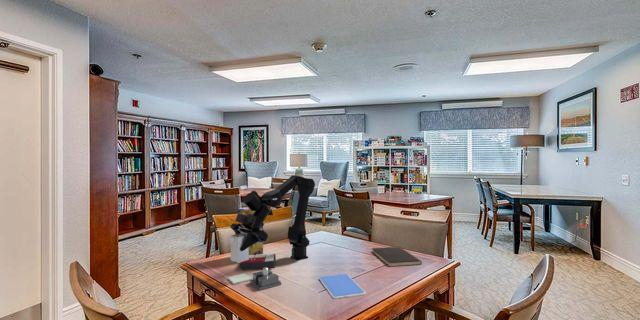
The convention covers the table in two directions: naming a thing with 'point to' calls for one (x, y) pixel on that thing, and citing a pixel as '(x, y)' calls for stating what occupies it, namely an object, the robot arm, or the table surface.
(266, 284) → the vise
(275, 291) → the table surface
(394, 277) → the table surface
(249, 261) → the calculator
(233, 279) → the pad
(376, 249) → the hardcover book
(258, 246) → the blue food box
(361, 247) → the table surface
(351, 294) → the tablet computer
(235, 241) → the grey stepped block
